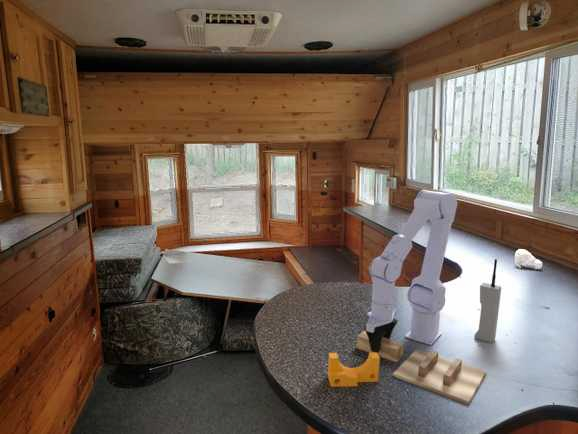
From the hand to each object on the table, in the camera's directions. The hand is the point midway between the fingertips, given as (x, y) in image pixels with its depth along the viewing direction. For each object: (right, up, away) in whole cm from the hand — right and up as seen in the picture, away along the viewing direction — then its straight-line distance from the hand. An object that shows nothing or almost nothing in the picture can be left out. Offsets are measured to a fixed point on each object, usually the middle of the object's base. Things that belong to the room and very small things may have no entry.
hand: (379, 347), depth 116 cm
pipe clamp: (-9, -4, -14) cm, 17 cm away
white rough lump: (+89, +12, +83) cm, 122 cm away
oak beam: (0, -2, 0) cm, 2 cm away
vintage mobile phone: (+34, -1, +10) cm, 35 cm away
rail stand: (+13, -4, -11) cm, 17 cm away
